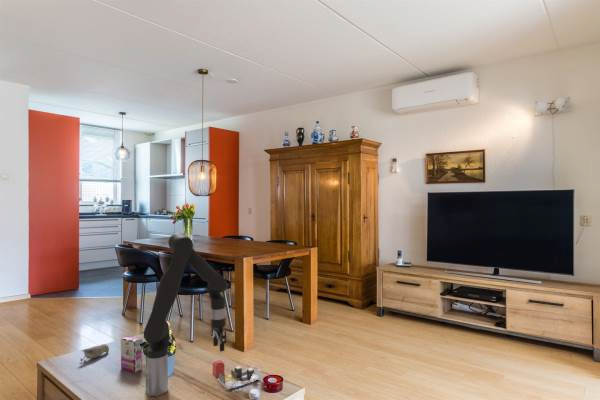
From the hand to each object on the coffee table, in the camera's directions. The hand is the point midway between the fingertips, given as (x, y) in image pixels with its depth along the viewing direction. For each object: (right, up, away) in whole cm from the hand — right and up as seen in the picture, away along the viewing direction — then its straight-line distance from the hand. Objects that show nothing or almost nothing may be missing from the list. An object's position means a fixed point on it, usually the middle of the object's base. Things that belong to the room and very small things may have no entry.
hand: (218, 348), depth 192 cm
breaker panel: (+11, -14, -6) cm, 19 cm away
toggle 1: (+11, -12, -4) cm, 16 cm away
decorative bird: (-75, -14, +22) cm, 79 cm away
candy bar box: (-48, -14, +7) cm, 50 cm away
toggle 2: (+17, -12, -6) cm, 22 cm away
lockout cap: (0, -14, 0) cm, 14 cm away
